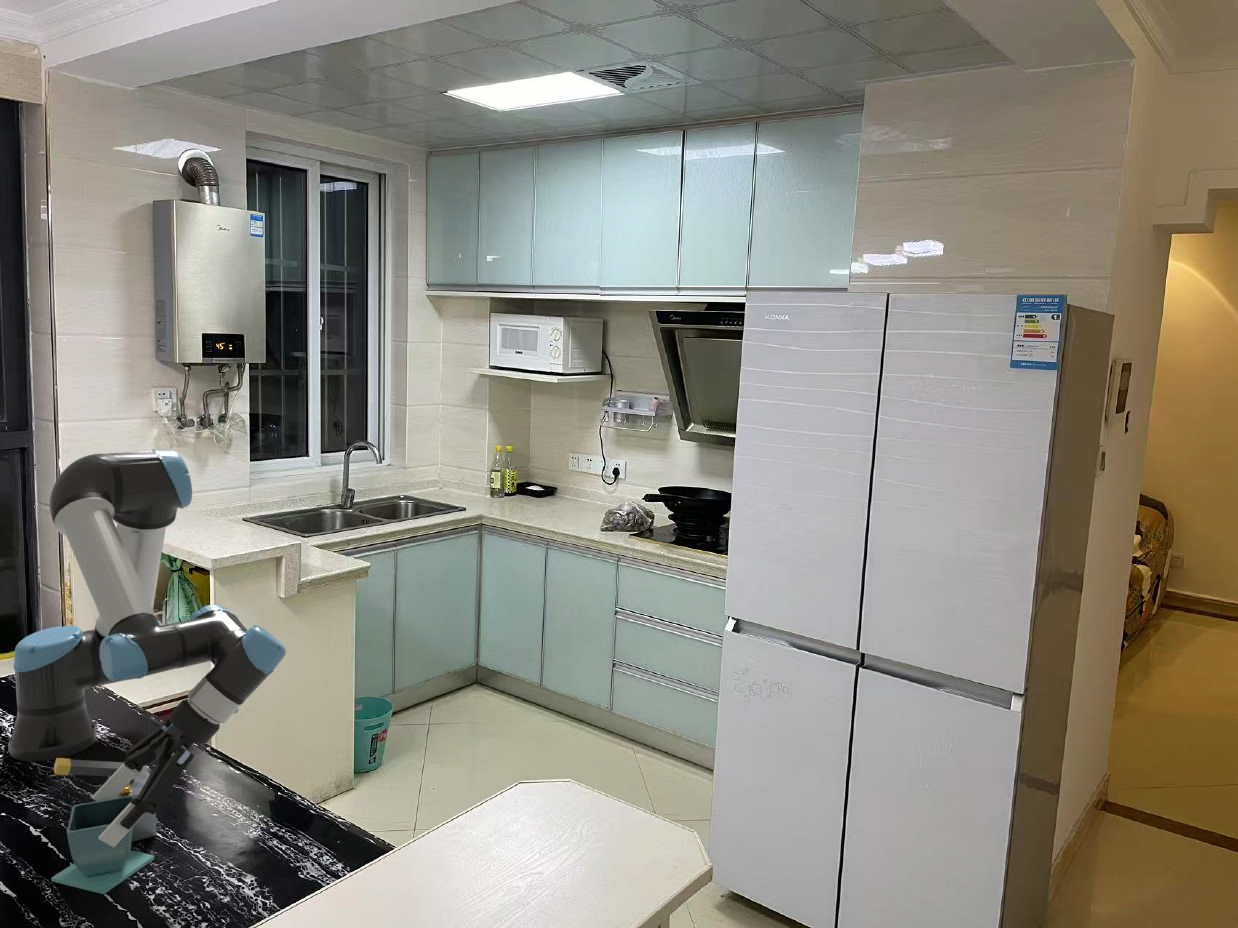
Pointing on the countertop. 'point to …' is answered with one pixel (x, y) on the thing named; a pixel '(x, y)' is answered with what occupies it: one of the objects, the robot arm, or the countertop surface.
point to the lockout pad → (102, 874)
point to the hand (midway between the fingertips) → (102, 821)
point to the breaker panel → (147, 821)
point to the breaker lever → (85, 767)
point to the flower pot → (97, 836)
